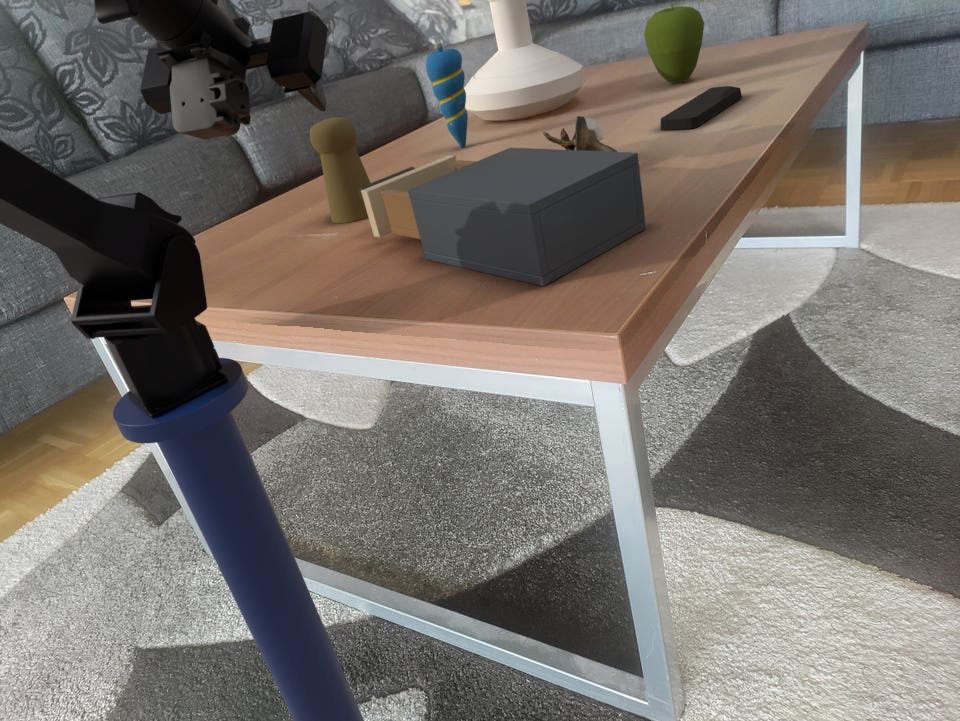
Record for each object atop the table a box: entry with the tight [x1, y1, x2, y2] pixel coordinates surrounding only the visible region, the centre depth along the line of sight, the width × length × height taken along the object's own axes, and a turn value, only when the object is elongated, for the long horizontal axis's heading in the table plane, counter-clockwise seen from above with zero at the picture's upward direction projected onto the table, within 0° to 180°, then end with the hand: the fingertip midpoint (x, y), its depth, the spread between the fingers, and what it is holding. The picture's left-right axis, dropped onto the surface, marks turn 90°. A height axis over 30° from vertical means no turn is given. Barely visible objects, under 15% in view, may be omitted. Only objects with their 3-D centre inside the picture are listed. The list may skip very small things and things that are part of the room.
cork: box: [309, 116, 371, 224], centre depth 87 cm, size 6×6×11 cm
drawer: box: [358, 155, 478, 240], centre depth 75 cm, size 19×11×5 cm, turn 41°
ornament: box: [425, 37, 469, 149], centre depth 106 cm, size 5×5×15 cm
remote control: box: [659, 85, 743, 131], centre depth 97 cm, size 5×2×15 cm
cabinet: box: [408, 147, 647, 287], centre depth 66 cm, size 16×13×7 cm
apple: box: [643, 2, 705, 84], centre depth 115 cm, size 9×8×12 cm
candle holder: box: [464, 0, 586, 122], centre depth 119 cm, size 20×20×19 cm
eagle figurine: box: [542, 115, 618, 152], centre depth 83 cm, size 8×7×9 cm
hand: (285, 114), depth 77 cm, fingers open, 9 cm apart
